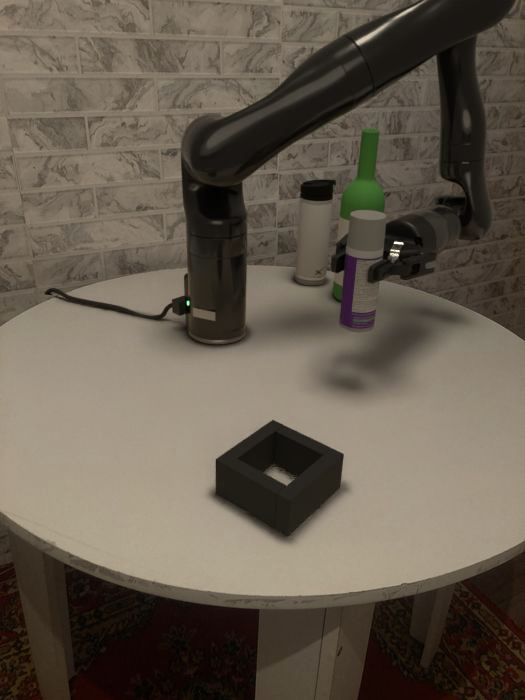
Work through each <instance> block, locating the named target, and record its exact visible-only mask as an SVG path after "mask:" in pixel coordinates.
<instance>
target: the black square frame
mask: <svg viewBox="0 0 525 700" xmlns="http://www.w3.org/2000/svg"><path fill="white" fill-rule="evenodd" d="M344 457H345V454H344V453H343V452H341V451H339V450H337V449H334V448H332V447H330V446H328V445H327V444H324V443H322V442H320V441H318V440H316V439H315V438H312V437H310V436H308V435H306V434H303V433H302V432H299V431H298V430H295V429H294V428H291V427H289V426H286V425H285V424H283V423H281V422H279V421H277V420H274V419H271V420H270V421H269V422H267V423H266V424H264V425H262V426H261V427H260V428H258V429H257V430H255V431H254V432H253V433H251V434H250V435H249V436H246V437H245V438H244V439H242V440H241V441H239V442H238V443H237V444H236V445H234V446H233V447H231V448H229V449H228V450H227V451H225V452H224V453H223V454H221V455H219V456H218V457H217V458H215V494H217V495H219V496H221V497H222V498H224V499H225V500H227V501H229V502H230V503H232V504H234V505H236V506H237V507H238V508H240V509H242V510H244V511H245V512H246V513H248V514H250V515H252V516H253V517H255V518H257V519H258V520H260V521H262V522H263V523H265V524H266V525H269V526H270V527H271V528H273V529H275V530H276V531H278V532H280V533H282V534H283V535H285V536H287V537H288V536H290V535H291V534H292V533H293V532H294V531H295V530H296V529H297V528H298V527H299V526H300V525H301V524H303V522H305V520H307V518H309V517H310V516H311V515H312V514H313V513H314V512H315V511H316V510H317V509H319V508H320V507H321V505H323V503H325V502H326V501H327V500H328V499H329V498H330V497H331V496H332V495H333V494H334V493H336V492H337V490H339V488H340V487H341V484H342V483H341V482H342V477H343V465H344ZM273 464H275V465H277V466H278V467H280V468H282V469H284V470H286V471H288V472H290V473H292V474H293V475H295V476H297V477H295V478H294V479H293V480H292V481H291V482H290V483H289V482H288V484H285V483H283V482H281V481H279V480H277V479H275V478H274V477H272V476H271V475H268V474H267V473H264V472H265V471H266V470H267V469H268V468H270V467H271V466H272V465H273Z"/></svg>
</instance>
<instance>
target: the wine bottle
mask: <svg viewBox="0 0 525 700" xmlns="http://www.w3.org/2000/svg"><path fill="white" fill-rule="evenodd" d="M379 141H380V130H379V129H372V128H363V129H362V130H361V137H360V144H359V145H360V146H359V153H358V154H359V155H358V163H357V172H356V177H355V178H354V180H353V181H351V182H349V183H348V185H347V186H346V187H345V188H344V191H343V192H342V194H341V199H340V209H339V218H338V229H337V237H336V238H337V240H336V243H337V242H338V241H339V240H340V239H342V238H343V237H344V236H345V235H346V234H347V233H348V229H349V221H350V213H351V212H353V211H357V210H373V211H378V212H382V213H384V214H385V207H386V197H385V192H384V190H383V188H382V186H381V184H380V183H378V181H376V177H375V175H376V168H377V159H378V150H379ZM343 275H344V270H343V271H341V272H339V273H334V272H333V282H332V284H333V285H332V294H333V296H334V297H335V298H336V299H337V300H338V301H340V302H341V297H342V286H343Z"/></svg>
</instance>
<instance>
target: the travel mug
mask: <svg viewBox="0 0 525 700" xmlns="http://www.w3.org/2000/svg"><path fill="white" fill-rule="evenodd" d="M336 185H337V180H336V179H325V178H324V179H323V178H322V179H321V178H320V179H312V180H307V181H304V182H302V183H301V184H300V194H299V195H300V196H299V201H298V202H299V203H298V204H299V205H298V220H297V236H296V237H297V239H296V254H295V255H296V257H295V273H294V280H295V281H296V282H297V283H298V284H300V285H304V286H308V287H309V286H310V287H313V286H314V287H315V286H320V285H323V284H325V283H326V282H327V273H328V263H329V251H330V240H331V239H330V237H331V227H332V224H331V223H332V215H333V200H334V195H333V194H334V187H335V186H336Z"/></svg>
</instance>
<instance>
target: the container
mask: <svg viewBox="0 0 525 700" xmlns="http://www.w3.org/2000/svg"><path fill="white" fill-rule="evenodd" d="M387 217H388V216H387V214H386V213H385V212H384V213H382V212H378V211H373V210H357V211H353V212H351V213H350V221H349V229H348V238H347V246H346V254H345V265H344V275H343V286H342V297H341V301H340V308H339V318H338V319H339V321H338V324H339V326H340V328H342V329H344V330H346V331H348V332H352V333H366V332H369V331H371V330H373V329H374V327H375V321H376V313H377V306H378V297H379V288H380V282H381V281H378V282H376V283H374V284H372V283H369V282H368V281H367V279H368V270H369V267H370V266H371V265H373V264H375V263H377V262H379V261H381V260H382V259H383V249H384V239H385V229H386V223H387Z"/></svg>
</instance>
